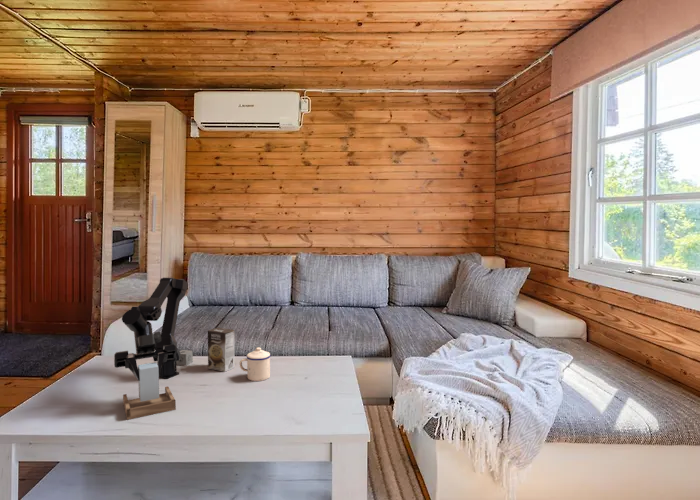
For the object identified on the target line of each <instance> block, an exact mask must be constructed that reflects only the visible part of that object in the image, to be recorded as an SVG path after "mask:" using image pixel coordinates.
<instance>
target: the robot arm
mask: <svg viewBox="0 0 700 500" xmlns="http://www.w3.org/2000/svg"><path fill="white" fill-rule="evenodd" d="M188 288H189V284H188V281H186V279H184V278H174V277H162V278H160V279H159V283H158V285H157V286H156V288H155V289H154V291H152V294H151V295H150V296H149V298H148V299H146V300H143V301H142V302H141V303H139V305H138V306H131V308H130V309H128V310H127V311H125V312H124V314H123V315H122V318H121V321H122V323H123V324H124V325H125V326H126V327H127V328H128V329H129V331H131V332H133V334H134V335H133V336H134V344H135V353H133V352H130V353H129V350H122V351H116V352H115V353H114V357H113V360H114V361H113V362H114V364H113V365H114V368H117V369H118V368H123V367H124V368H125V369H129V371H130V372H132V374H133V376H134V377H135V379H136V380H137V381H140V377H139V371H138V364H137V360H142V359H149V358H152V360H153V362H156V363H157V365H158V368H159V378H161V379H165V380H167V379H170V378H173V377H175V376H178V375H180V372H179V371H177V370H178V369H177V365H176V361H178V360H180V351H181V350H179V348H178V342H177V340H176V338H175V332H176V331H175V330H176V326H177V319H178V313H179V308H180V302H181V301H182V300H183V298H185V297H186V292H187V291H188ZM166 299H167V301H166V306H165V310H164V311H165V312H164V317H163V321H162V326H161V331H155V332H153V325H152V323H151V322H157V321H158V320H159V319H160V318H161V315H162V312H163V310H162V305H163V303H164V302H165V300H166Z"/></svg>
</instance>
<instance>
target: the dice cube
mask: <svg viewBox="0 0 700 500" xmlns="http://www.w3.org/2000/svg"><path fill="white" fill-rule="evenodd" d="M179 351H180V360H178V361H176V366H185V367H186V366H188V365H190V364H192V363H193V361H194V360H193V359H194V356H193V350H189V349H188V350H187V349H181V350H179Z"/></svg>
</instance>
